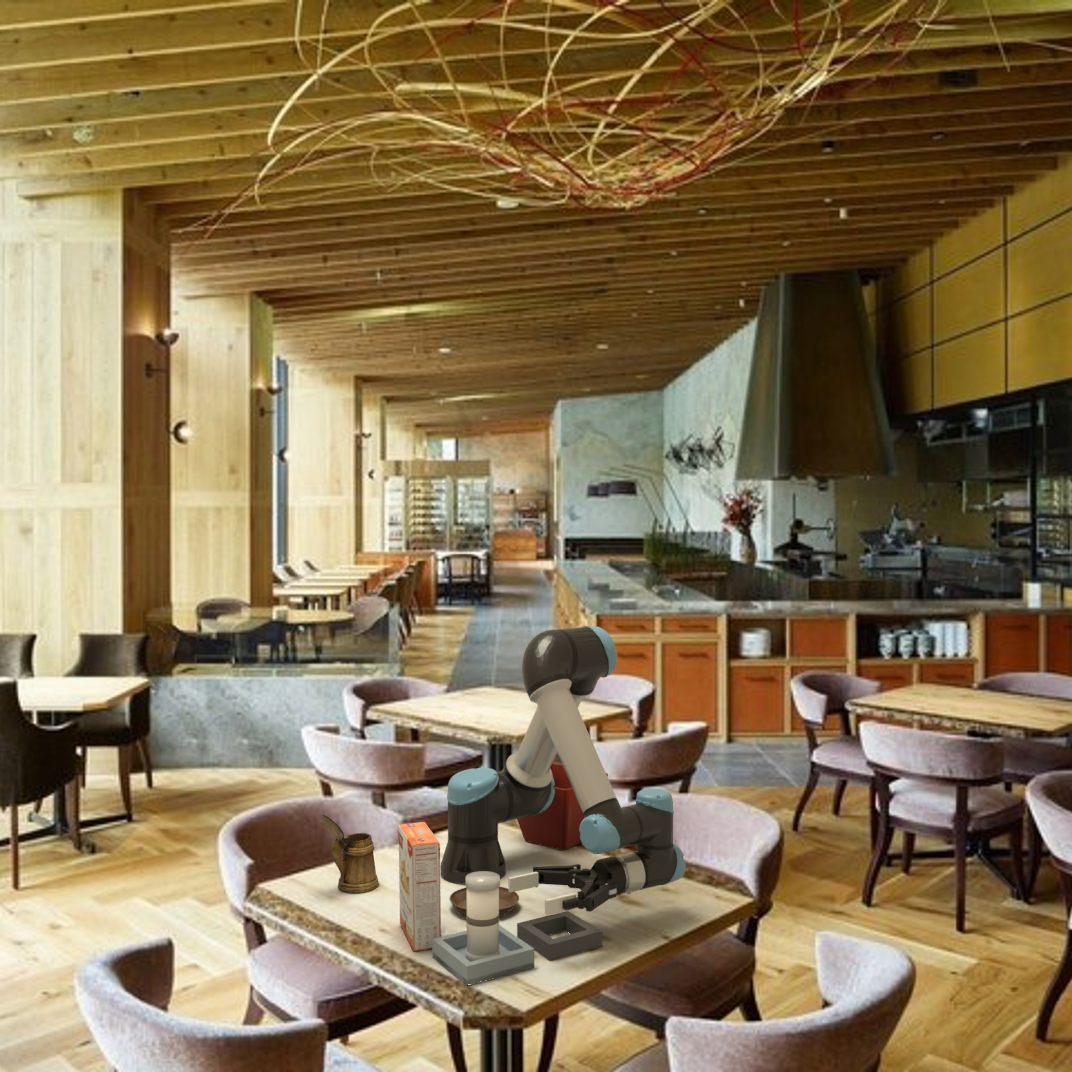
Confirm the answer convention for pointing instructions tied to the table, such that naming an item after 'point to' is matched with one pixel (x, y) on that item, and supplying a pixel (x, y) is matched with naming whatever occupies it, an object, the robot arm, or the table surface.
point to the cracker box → (419, 884)
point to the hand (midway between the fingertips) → (526, 896)
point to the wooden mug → (353, 859)
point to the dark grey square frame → (576, 942)
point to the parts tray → (509, 960)
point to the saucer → (505, 900)
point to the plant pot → (556, 816)
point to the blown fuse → (482, 915)
